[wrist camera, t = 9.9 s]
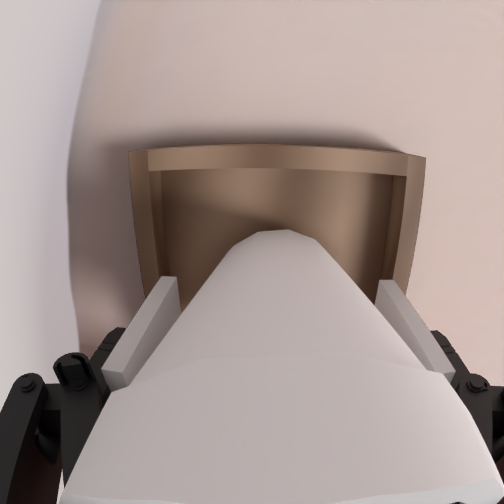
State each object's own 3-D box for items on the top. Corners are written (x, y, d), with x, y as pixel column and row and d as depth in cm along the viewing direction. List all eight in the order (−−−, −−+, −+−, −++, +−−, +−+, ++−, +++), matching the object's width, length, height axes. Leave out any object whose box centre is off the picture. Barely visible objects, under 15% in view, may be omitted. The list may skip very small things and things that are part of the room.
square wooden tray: (405, 153, 15) (426, 157, 13) (370, 360, 20) (379, 384, 18) (147, 148, 16) (128, 151, 13) (172, 357, 21) (163, 381, 18)
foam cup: (247, 378, 18) (226, 585, 6) (151, 259, 16) (-4, 478, 4) (391, 311, 16) (489, 523, 4) (317, 160, 13) (553, 344, 1)
